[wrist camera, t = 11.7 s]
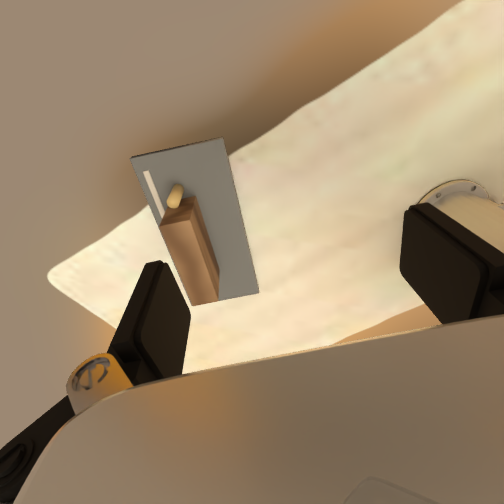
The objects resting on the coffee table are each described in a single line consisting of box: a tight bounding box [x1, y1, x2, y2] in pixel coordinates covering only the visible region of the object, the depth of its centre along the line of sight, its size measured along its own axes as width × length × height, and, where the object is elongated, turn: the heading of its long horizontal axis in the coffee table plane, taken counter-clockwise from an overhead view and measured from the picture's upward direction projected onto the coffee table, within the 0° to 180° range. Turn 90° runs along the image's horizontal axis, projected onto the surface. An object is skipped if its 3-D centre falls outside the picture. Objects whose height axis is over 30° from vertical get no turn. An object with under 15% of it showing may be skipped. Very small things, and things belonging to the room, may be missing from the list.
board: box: [130, 137, 259, 305], centre depth 45 cm, size 13×28×6 cm, turn 11°
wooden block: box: [159, 196, 220, 306], centre depth 43 cm, size 4×14×8 cm, turn 11°
